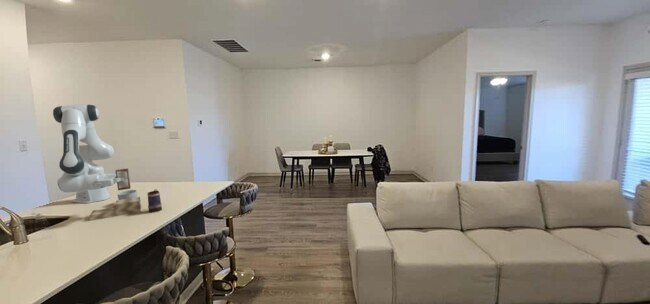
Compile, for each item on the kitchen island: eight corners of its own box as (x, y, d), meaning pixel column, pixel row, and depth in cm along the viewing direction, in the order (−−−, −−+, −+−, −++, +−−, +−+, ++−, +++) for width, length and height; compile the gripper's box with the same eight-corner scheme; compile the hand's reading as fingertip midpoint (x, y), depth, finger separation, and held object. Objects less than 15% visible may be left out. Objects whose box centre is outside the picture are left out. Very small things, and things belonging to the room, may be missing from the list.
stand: (90, 220, 162) (88, 208, 161) (93, 215, 171) (92, 203, 170) (140, 212, 174) (138, 200, 173) (141, 207, 182) (140, 196, 181)
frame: (118, 190, 170) (115, 170, 168) (118, 189, 173) (116, 169, 171) (130, 188, 173) (127, 169, 171) (130, 187, 175) (128, 168, 174)
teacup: (131, 205, 187) (129, 193, 186) (114, 206, 187) (112, 194, 186) (144, 199, 201) (143, 188, 200) (129, 199, 201) (127, 188, 200)
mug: (160, 211, 173) (157, 192, 171) (147, 213, 171) (144, 193, 170) (165, 206, 183) (163, 188, 181) (152, 207, 181) (150, 189, 180)
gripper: (91, 179, 156) (121, 176, 163) (98, 173, 174) (125, 170, 180) (92, 190, 157) (123, 186, 164) (99, 183, 175) (127, 180, 181)
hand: (124, 178), depth 172 cm, fingers closed on frame, 3 cm apart
